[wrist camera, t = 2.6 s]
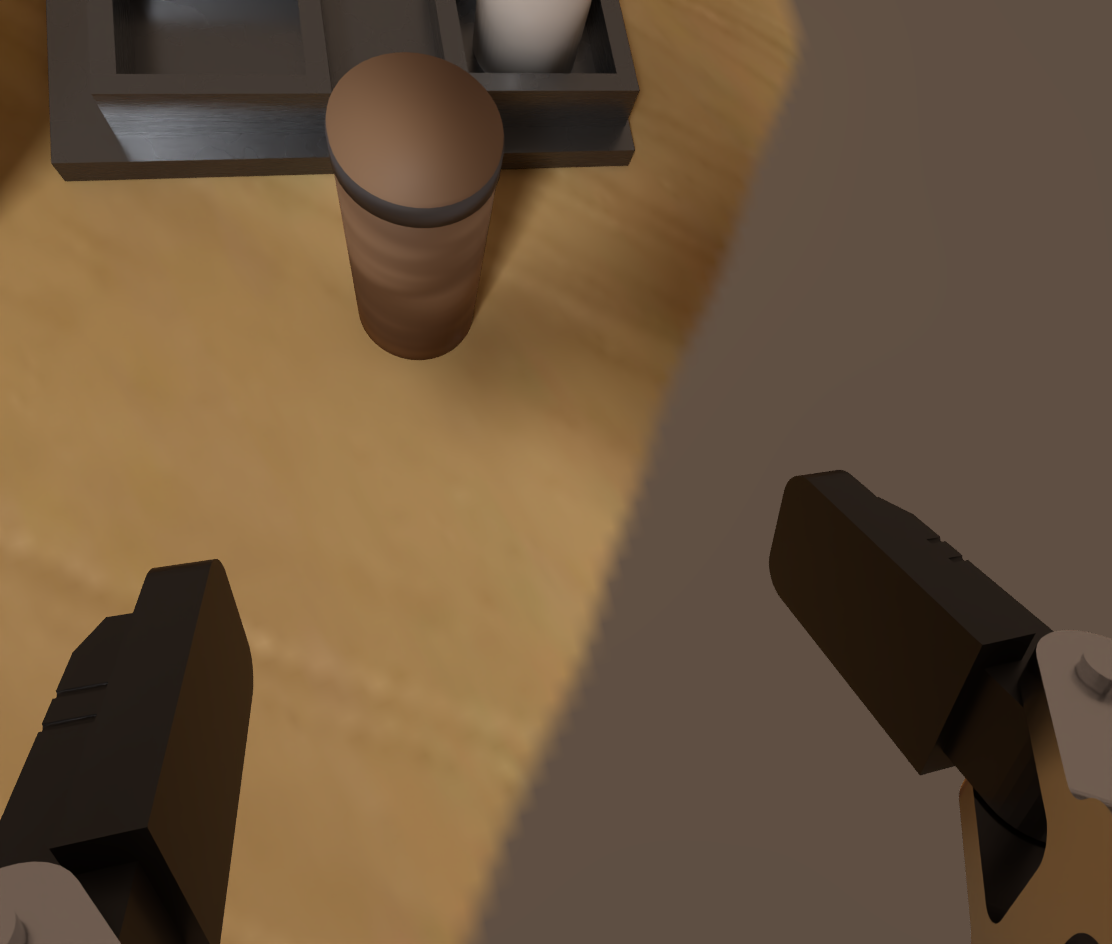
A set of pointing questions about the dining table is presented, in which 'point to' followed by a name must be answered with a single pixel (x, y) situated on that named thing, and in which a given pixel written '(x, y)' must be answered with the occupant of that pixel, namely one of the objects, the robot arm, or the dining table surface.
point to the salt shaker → (528, 35)
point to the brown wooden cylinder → (414, 195)
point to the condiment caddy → (297, 84)
